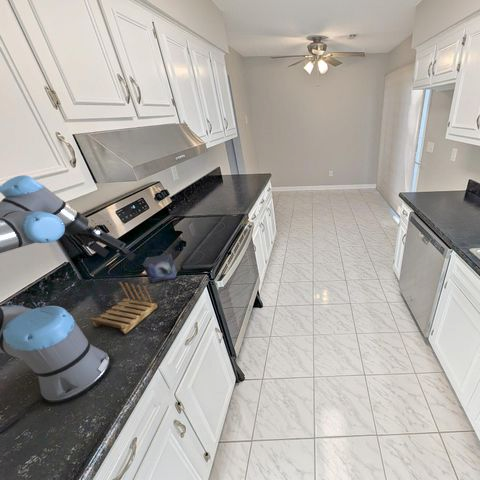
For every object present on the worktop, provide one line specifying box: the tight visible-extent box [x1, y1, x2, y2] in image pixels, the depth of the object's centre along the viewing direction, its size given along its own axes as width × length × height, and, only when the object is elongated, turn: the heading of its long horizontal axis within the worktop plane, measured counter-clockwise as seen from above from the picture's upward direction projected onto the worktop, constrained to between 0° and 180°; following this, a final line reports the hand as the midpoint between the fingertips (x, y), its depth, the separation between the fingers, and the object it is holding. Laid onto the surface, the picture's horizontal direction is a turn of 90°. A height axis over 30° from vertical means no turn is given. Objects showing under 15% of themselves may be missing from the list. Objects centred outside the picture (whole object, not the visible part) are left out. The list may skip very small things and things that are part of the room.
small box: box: [142, 253, 179, 284], centre depth 116 cm, size 11×6×10 cm, turn 105°
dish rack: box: [89, 281, 158, 335], centre depth 94 cm, size 14×15×11 cm
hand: (119, 256), depth 97 cm, fingers open, 13 cm apart
